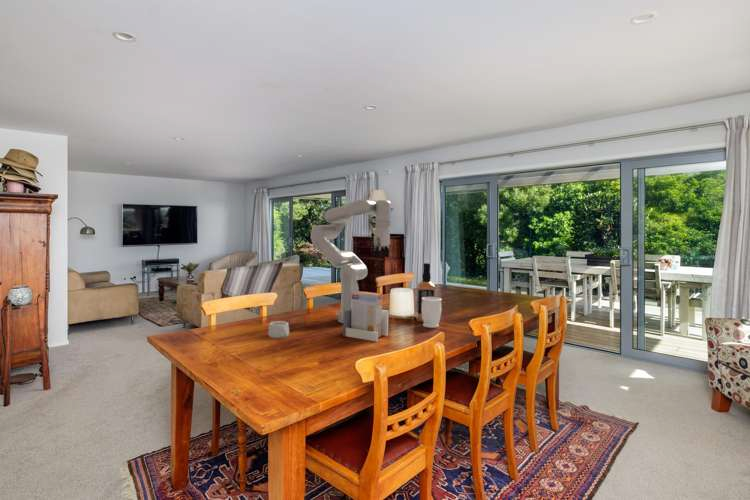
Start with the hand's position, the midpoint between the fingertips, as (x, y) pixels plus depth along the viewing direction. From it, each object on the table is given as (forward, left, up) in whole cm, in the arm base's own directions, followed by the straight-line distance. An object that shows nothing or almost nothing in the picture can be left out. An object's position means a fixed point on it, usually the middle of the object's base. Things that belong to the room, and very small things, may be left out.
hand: (382, 257), depth 208 cm
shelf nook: (+1, -18, -36) cm, 41 cm away
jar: (+22, +16, -36) cm, 46 cm away
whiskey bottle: (+14, +29, -36) cm, 49 cm away
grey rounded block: (-33, -40, -37) cm, 63 cm away
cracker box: (+1, -18, -36) cm, 41 cm away
